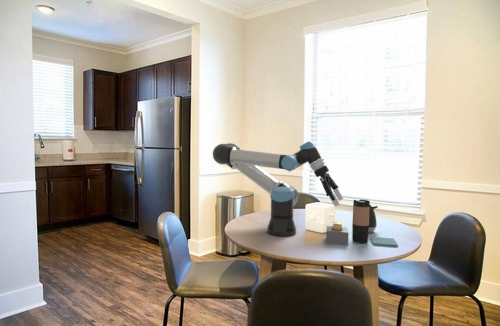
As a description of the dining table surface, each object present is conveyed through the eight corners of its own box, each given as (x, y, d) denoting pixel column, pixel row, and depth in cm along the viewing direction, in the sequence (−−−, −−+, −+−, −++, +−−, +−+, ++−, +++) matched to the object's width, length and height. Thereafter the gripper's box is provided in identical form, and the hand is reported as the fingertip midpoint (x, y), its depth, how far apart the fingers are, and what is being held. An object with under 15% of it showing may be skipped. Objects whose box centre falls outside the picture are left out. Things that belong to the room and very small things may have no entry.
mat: (373, 245, 163) (373, 243, 163) (370, 238, 174) (370, 236, 174) (398, 247, 161) (398, 245, 160) (393, 240, 171) (393, 238, 171)
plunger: (332, 236, 166) (333, 223, 166) (332, 233, 170) (333, 221, 170) (341, 236, 165) (341, 224, 165) (341, 234, 169) (341, 222, 169)
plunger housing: (326, 243, 164) (326, 230, 164) (326, 237, 174) (326, 225, 174) (348, 245, 162) (348, 232, 162) (346, 239, 172) (347, 227, 171)
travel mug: (366, 244, 163) (367, 202, 162) (349, 242, 167) (351, 201, 166) (369, 240, 170) (371, 200, 168) (354, 238, 174) (355, 198, 172)
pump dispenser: (378, 234, 181) (379, 206, 180) (357, 233, 183) (358, 205, 182) (375, 229, 191) (376, 202, 190) (355, 228, 193) (356, 201, 192)
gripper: (320, 167, 175) (342, 204, 173) (329, 161, 197) (348, 194, 195) (308, 174, 177) (329, 211, 176) (318, 168, 200) (336, 200, 198)
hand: (339, 202), depth 185 cm, fingers open, 13 cm apart
